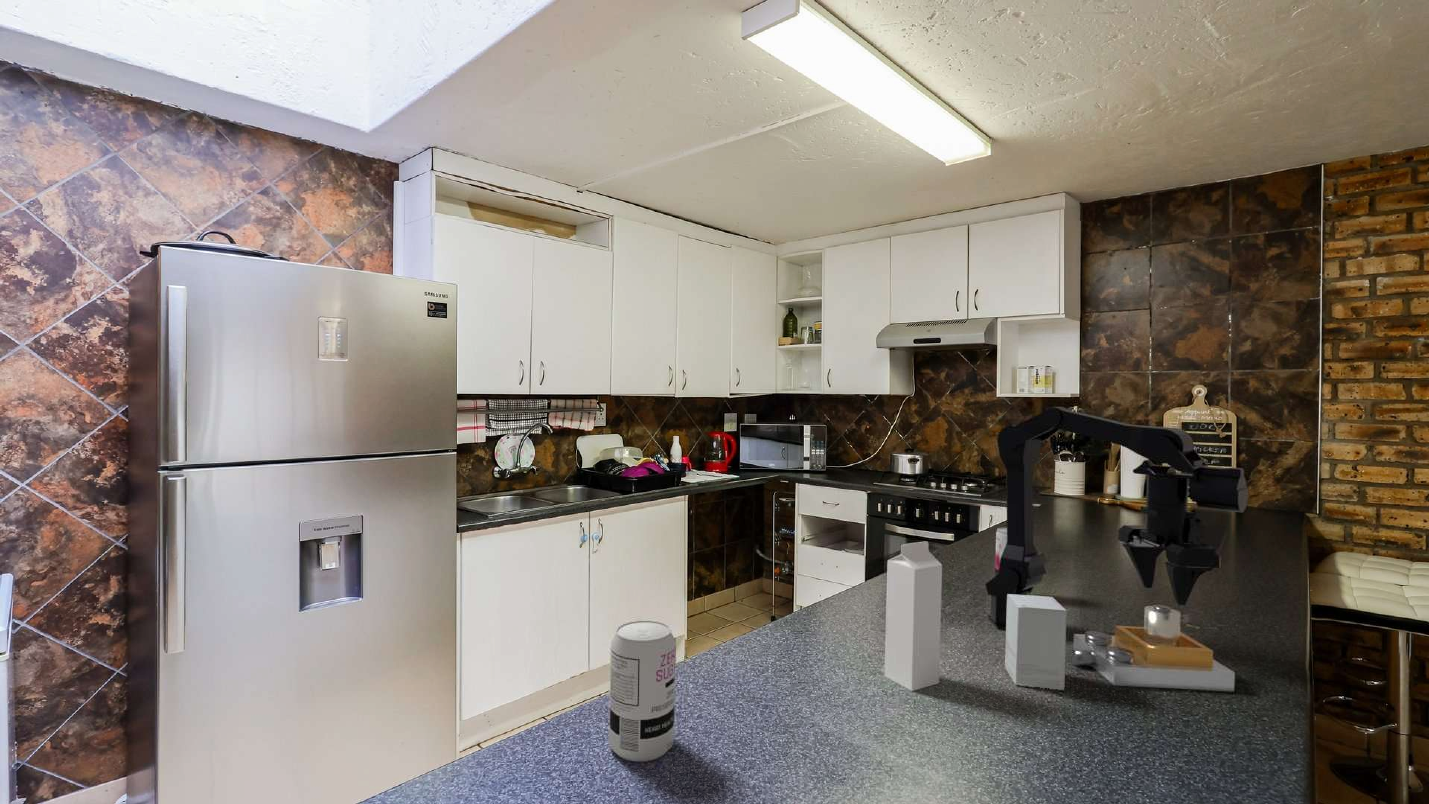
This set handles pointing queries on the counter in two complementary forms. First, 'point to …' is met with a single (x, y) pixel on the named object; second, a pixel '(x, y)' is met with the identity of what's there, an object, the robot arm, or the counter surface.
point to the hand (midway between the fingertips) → (1163, 596)
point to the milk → (913, 617)
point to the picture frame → (1151, 661)
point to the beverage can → (1000, 546)
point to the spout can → (1163, 626)
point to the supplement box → (1035, 641)
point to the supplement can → (642, 690)
